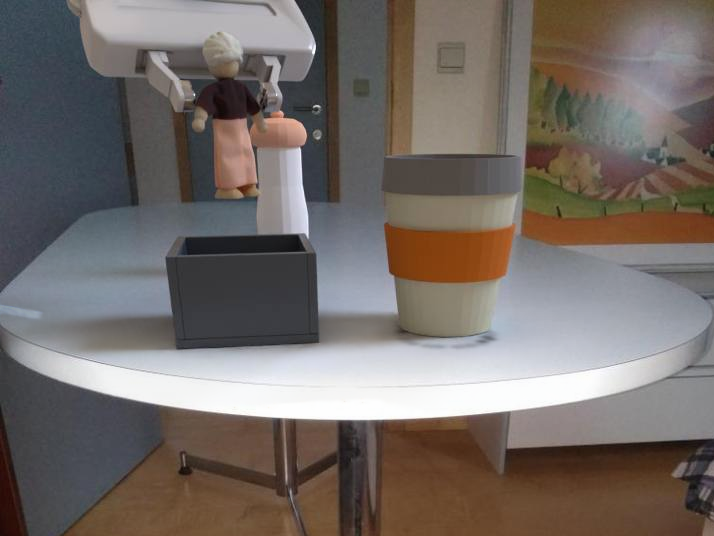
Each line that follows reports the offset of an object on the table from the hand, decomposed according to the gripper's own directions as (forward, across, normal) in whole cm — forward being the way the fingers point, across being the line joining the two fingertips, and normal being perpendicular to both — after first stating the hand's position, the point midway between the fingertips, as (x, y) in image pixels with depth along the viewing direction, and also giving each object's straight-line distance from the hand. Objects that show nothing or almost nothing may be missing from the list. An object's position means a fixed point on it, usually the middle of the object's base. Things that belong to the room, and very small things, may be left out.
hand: (231, 106), depth 61 cm
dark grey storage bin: (+13, 0, +14) cm, 19 cm away
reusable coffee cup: (+20, +16, +7) cm, 27 cm away
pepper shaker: (-4, +16, +31) cm, 35 cm away
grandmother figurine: (+5, 0, +6) cm, 7 cm away
